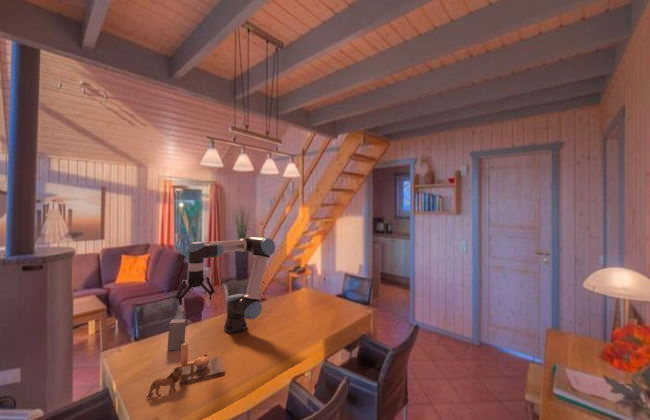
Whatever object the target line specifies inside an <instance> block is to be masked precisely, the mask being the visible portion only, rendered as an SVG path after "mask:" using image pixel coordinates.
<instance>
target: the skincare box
mask: <svg viewBox="0 0 650 420" xmlns="http://www.w3.org/2000/svg"><path fill="white" fill-rule="evenodd" d="M186 326H187V318H177V319H176V318H175V319H171V320H170V321H169V324H168V335H167V337H168V338H167V351H168V352H169V351H176V350H177V351H178V350H181V345H182V344H184V343H186V331H187V330H186V329H187V327H186Z"/></svg>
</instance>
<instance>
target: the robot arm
mask: <svg viewBox="0 0 650 420" xmlns="http://www.w3.org/2000/svg"><path fill="white" fill-rule="evenodd" d="M275 251H276V244H275V241H274V240H273V239H272V238H269V237H264V236H263V237H262V236H251V237H243V238H242V237H241V238H240V239H235V240H232V239H231V240H220V241H207V242H206V241H205V242H204V241H193V242H190V243H189V246H188V279H187V280H186V279H185V280H184V279H182V281H181V285H179V288H178V291H177V292H176V294H175V296H174V298H175V299H176V300H178V305H179V306H180V311H181V312H184V311H185V310H184V306H185V299H184V297H185V296H186V295H187V294H188V292H189V291H190V290H191V289H192V288H199V287H200V286H201V287H202V288H203V289H204V291H205V292H207V293H206V306H207V307H210V302H211V301H210V300H212V294H214V293H216V291H215V289H214V287H213V285H212V283H211V281H210V276H209V277H208V276H206V277H204V270H203V269H204V261H205V259H209V258H217V257H221V256H223V254H224V253H231V252H242V253H245V252H246V253H252V257H253V258H254V259H253V262H252V267H251V271H250V274H249V279H248V283H247V289H246V292H245V293H236V294H231V295H229V296H228V297H227V298H226V299H227V300H226V320H225V323H224V326H223V330H224V332H225V333H230V334H237V333H240V332H244V331H245V330H247V328H248V323H247V321H246V319H247V320H255V319H256V318H258V317H259V316H260V315H261V313H262V310H263V306H262V303H261V297H260V292H261V287H262V283H263V279H264V274H265V269H266V265H267V261H268V260H269V259H270V257H271V256H272V255H273V254H274V252H275ZM204 281H205V282H206V284H207V286H208V287H207V286H206V285H205V284H204V283H203V282H204ZM187 283H188V285H187ZM185 287H186V288H185Z"/></svg>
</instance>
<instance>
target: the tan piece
mask: <svg viewBox="0 0 650 420" xmlns="http://www.w3.org/2000/svg"><path fill="white" fill-rule="evenodd" d="M188 353H189V343H186V342H185V343H184V344H182V345H181V349H180V365H182V367H187V366H191V363H194V365H195V366H203V365H206V364H208V363H209V359H210V357H208V356H207V357H205V356H204V355H203V356H200V357H196V359H194V360H191V361H188V359H189V358H188V357H189V354H188Z"/></svg>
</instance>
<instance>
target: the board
mask: <svg viewBox="0 0 650 420" xmlns="http://www.w3.org/2000/svg"><path fill="white" fill-rule="evenodd" d="M204 356H205V357H208V354H207V353H204V355H203V357H204ZM221 357H222V356H217V357H211V358H209V363H208V364H206V365H203V366H195V365H194V363H191V366H187V367H182V365H181V364H179V365H178V366H179V367H182V370H183V372H182V376H181V377H180V380H179V381H178V382H179V386H181V385H186V384H190V383H194V382H198V381H202V380H207V379H211V378H215V377H219V376H223V375H225V373H226V372H225V369H224V368H225V367H224V365H223V361H222V358H221Z"/></svg>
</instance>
